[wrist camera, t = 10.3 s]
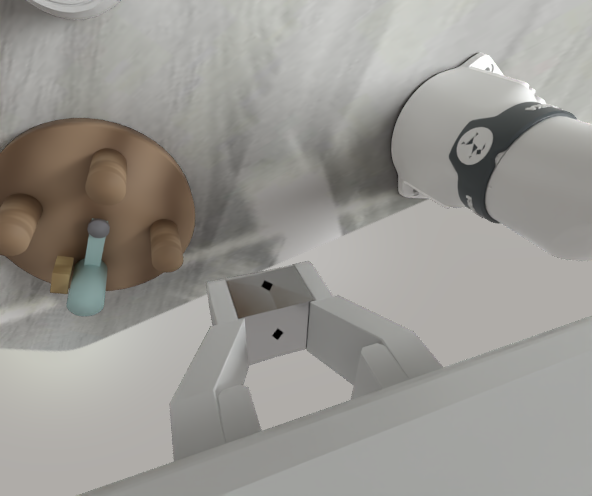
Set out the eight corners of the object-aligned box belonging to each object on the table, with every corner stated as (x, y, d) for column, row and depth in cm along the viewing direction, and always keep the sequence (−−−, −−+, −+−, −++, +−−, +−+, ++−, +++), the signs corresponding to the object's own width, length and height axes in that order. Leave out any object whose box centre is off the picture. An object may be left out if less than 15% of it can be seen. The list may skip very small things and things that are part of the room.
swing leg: (83, 209, 33) (76, 240, 29) (118, 215, 34) (116, 245, 30) (72, 279, 36) (64, 315, 32) (105, 282, 38) (101, 317, 34)
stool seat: (211, 150, 37) (227, 182, 31) (171, 283, 44) (177, 330, 38) (-10, 86, 28) (-51, 113, 22) (-13, 267, 35) (-43, 324, 29)
